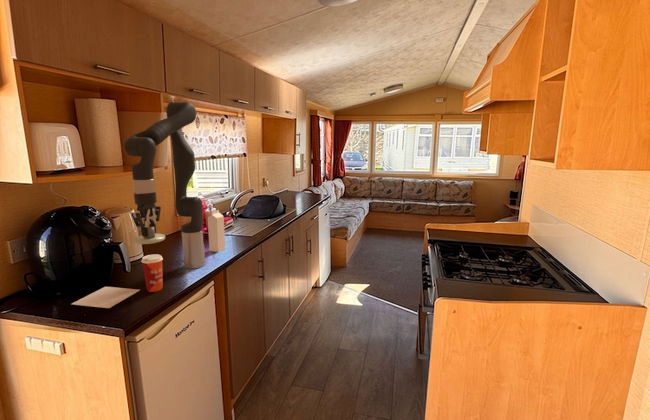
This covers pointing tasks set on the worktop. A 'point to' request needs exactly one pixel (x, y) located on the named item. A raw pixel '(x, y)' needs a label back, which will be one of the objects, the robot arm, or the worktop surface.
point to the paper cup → (153, 272)
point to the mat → (106, 297)
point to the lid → (149, 237)
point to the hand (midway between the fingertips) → (149, 234)
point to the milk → (216, 231)
